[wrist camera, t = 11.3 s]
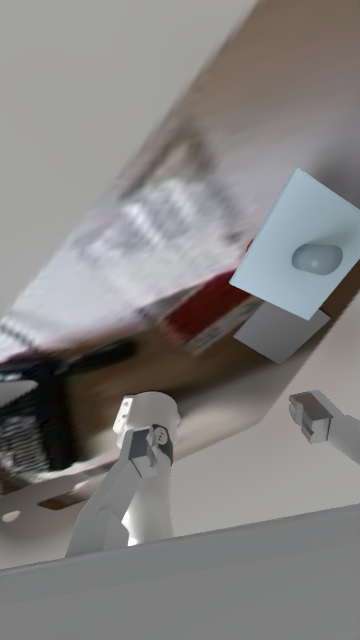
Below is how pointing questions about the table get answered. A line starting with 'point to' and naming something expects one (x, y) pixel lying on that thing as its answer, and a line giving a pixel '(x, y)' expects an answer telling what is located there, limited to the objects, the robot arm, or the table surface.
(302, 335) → the grey flat square plate
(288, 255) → the lid
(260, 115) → the table surface
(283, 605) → the robot arm
